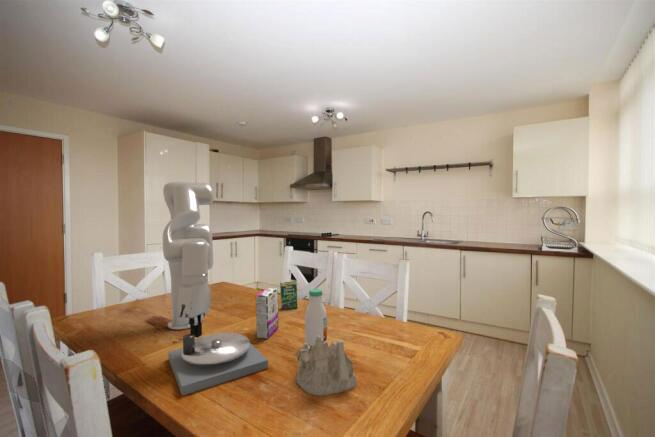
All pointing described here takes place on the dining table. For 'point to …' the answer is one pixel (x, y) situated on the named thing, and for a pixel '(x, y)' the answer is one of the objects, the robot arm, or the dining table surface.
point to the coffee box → (288, 295)
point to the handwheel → (213, 348)
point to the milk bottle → (315, 318)
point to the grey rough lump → (325, 368)
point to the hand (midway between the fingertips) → (196, 335)
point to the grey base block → (214, 370)
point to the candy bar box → (267, 312)
